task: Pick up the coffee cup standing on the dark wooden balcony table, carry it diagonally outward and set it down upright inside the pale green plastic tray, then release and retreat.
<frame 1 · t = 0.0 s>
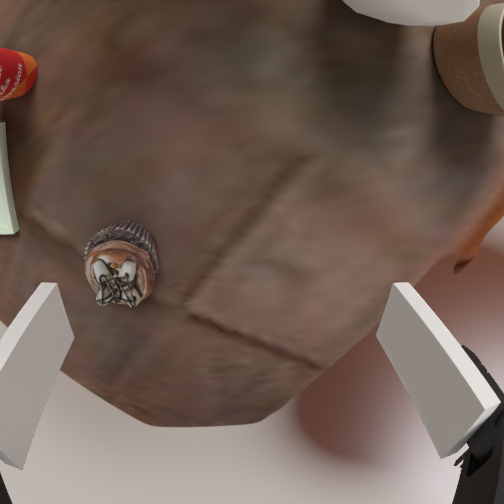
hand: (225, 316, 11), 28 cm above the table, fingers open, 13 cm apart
cupcake: (129, 247, 40), on the table
planter: (468, 60, 31), on the table
coffee cup: (21, 75, 27), on the table
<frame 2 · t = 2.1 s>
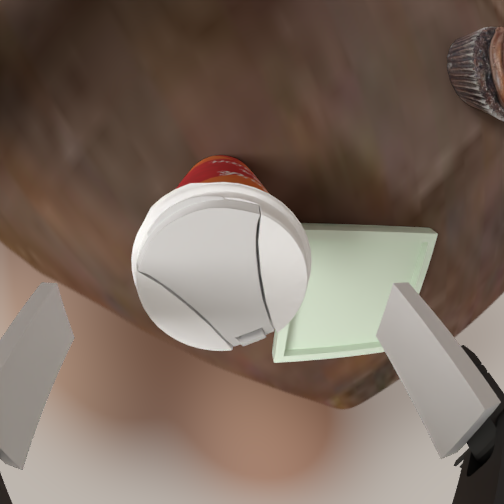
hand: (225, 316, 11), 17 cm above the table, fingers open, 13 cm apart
cupcake: (471, 71, 22), on the table
tray: (351, 294, 33), on the table
coffee cup: (219, 187, 26), on the table
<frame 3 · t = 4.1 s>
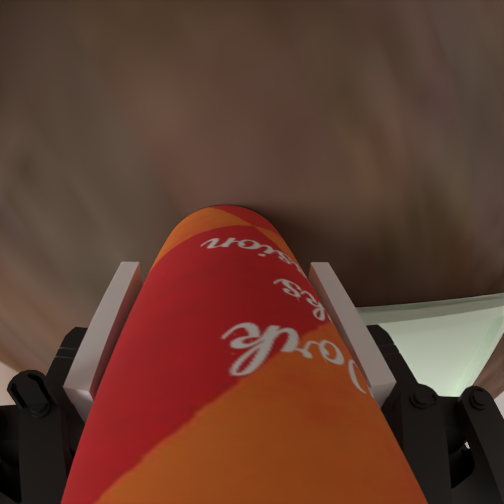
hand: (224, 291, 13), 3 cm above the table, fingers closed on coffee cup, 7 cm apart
tray: (403, 381, 22), on the table
coffee cup: (223, 259, 15), on the table, touching gripper
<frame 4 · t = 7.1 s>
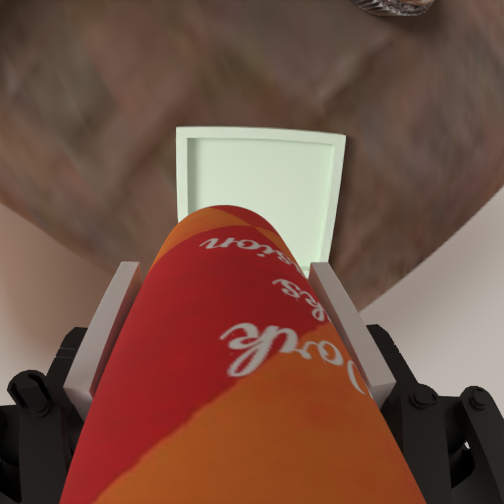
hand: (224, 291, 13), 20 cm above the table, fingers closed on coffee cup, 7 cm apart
tray: (257, 204, 32), on the table
coffee cup: (223, 260, 15), point 17 cm above the table, touching gripper
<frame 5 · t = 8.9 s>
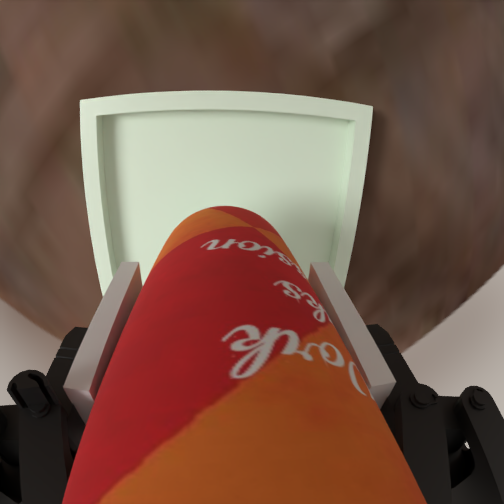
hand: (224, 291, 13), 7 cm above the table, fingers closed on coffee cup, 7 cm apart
tray: (222, 224, 19), on the table
coffee cup: (223, 260, 15), point 5 cm above the table, touching gripper
when the fingers open (3 cm above the table, at t = 10.2 s): coffee cup stays where it is, resting on tray.
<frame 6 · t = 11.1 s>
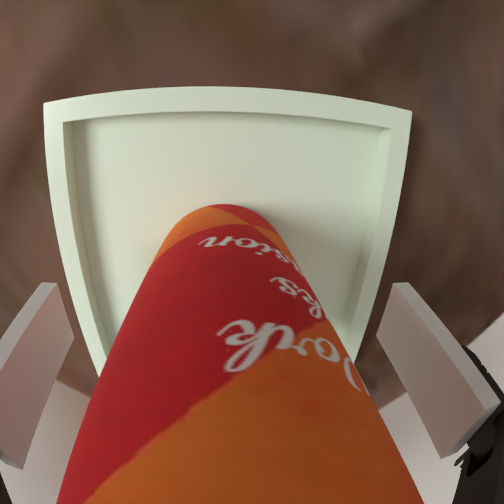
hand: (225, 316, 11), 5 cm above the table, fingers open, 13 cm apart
tray: (223, 255, 16), on the table
coffee cup: (222, 258, 15), resting on tray
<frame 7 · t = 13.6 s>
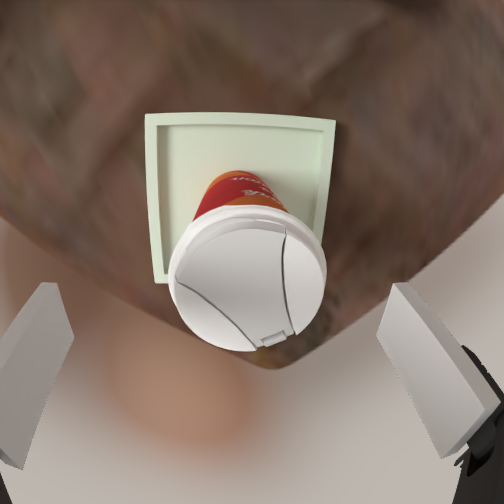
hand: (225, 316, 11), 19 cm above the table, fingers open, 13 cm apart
tray: (237, 199, 29), on the table
coffee cup: (236, 200, 28), resting on tray
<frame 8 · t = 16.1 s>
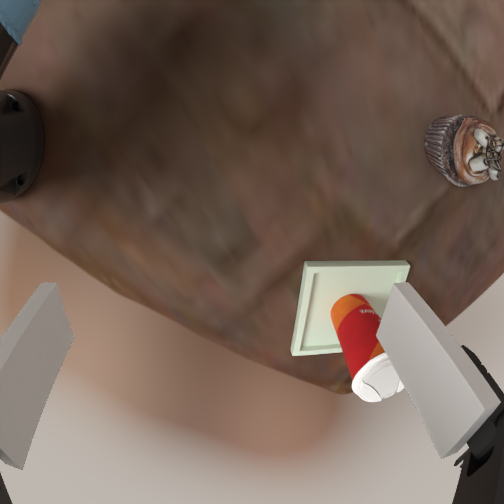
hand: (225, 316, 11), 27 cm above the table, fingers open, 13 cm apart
cupcake: (444, 144, 36), on the table
tray: (347, 307, 46), on the table
coffee cup: (348, 308, 46), resting on tray
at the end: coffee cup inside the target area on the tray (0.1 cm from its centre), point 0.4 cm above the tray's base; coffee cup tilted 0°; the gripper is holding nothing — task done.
